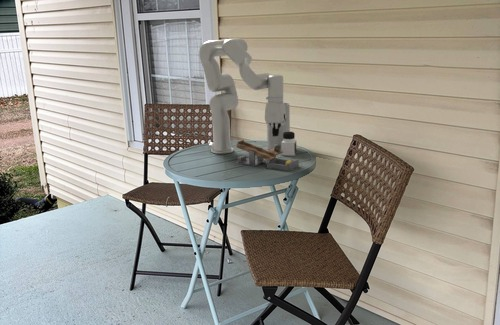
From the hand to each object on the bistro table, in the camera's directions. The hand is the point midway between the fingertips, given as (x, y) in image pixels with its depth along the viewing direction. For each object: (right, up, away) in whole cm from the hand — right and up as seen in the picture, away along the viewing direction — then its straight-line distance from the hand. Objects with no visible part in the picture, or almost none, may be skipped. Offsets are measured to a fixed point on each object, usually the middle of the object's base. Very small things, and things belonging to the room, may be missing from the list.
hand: (275, 135), depth 259 cm
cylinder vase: (+3, -6, +26) cm, 27 cm away
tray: (+3, -16, -10) cm, 19 cm away
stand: (-13, -14, 0) cm, 19 cm away
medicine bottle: (+8, -9, +14) cm, 19 cm away
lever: (-7, -7, 0) cm, 11 cm away
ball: (+6, -14, -13) cm, 20 cm away
